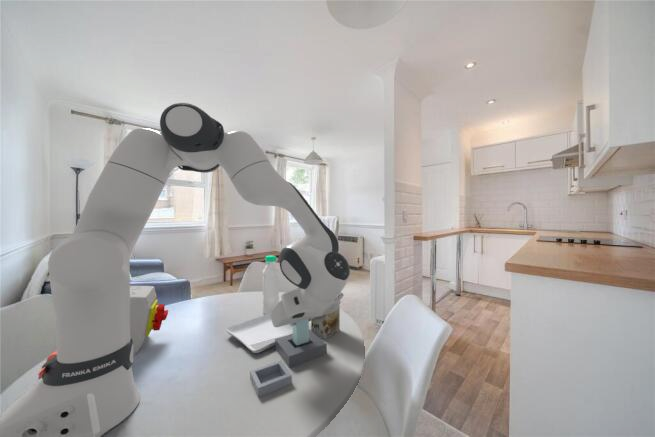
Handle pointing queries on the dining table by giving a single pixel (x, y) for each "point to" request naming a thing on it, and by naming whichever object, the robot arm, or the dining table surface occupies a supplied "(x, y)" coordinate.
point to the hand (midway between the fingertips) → (299, 321)
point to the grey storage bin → (270, 378)
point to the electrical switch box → (144, 314)
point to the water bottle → (270, 285)
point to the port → (300, 349)
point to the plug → (301, 332)
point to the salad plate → (258, 332)
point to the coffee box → (326, 324)
